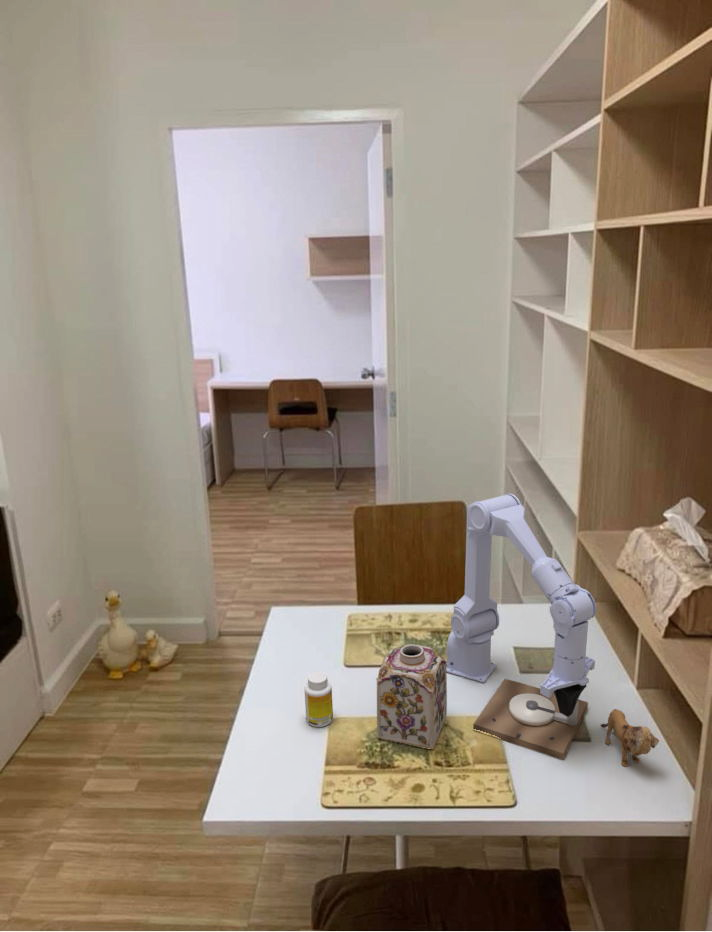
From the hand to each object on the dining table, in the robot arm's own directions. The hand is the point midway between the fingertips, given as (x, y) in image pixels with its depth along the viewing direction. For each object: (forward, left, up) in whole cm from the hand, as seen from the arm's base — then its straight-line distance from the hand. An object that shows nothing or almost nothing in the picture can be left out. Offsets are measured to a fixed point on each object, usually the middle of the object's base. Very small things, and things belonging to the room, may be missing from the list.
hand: (565, 713), depth 139 cm
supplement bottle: (-45, -18, -6) cm, 49 cm away
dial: (-5, +3, -4) cm, 7 cm away
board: (-7, +3, -6) cm, 10 cm away
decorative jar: (-27, -11, -6) cm, 30 cm away
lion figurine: (+11, +1, -6) cm, 13 cm away
